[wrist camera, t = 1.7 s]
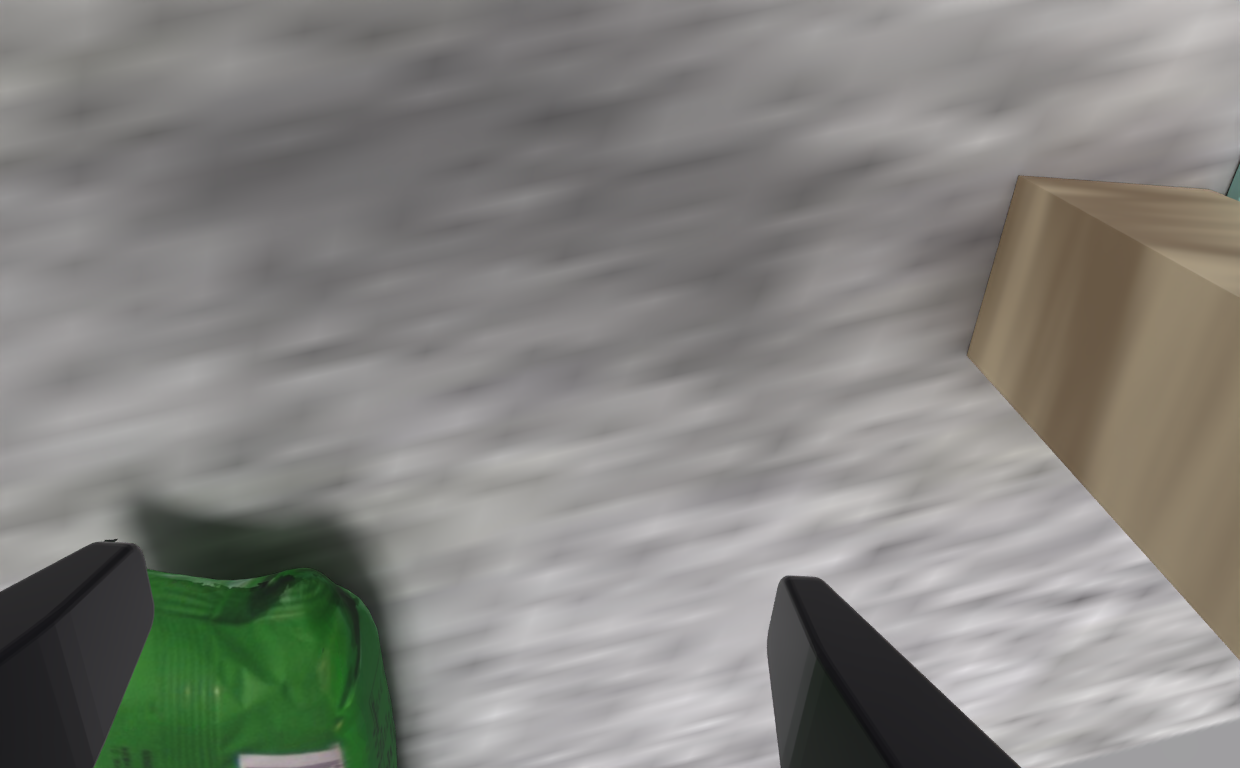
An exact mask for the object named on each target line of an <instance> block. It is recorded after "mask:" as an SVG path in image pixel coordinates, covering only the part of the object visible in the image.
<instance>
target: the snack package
mask: <svg viewBox="0 0 1240 768" xmlns="http://www.w3.org/2000/svg"><path fill="white" fill-rule="evenodd" d="M116 540H117V539H114V540H105V541H104V542H115V541H116ZM147 572H148V577H149V582H150V586H151V591H152V596H153V600H154V620H153V624H152V627H151V630H150V633H149V635H148V638H147V640H146V643H145V645H144V648H143V650H142V652H141V655H140V657H139V660H138V662H137V665H136V667H135V670H134V672H133V675H132V677H131V680H130V682H129V685H128V687H127V689H126V692H125V694H124V697H123V699H122V702H121V704H120V707H119V709H118V712H117V714H116V717H115V719H114V721H113V724H112V726H111V729H110V731H109V734H108V736H107V739H106V741H105V744H104V746H103V748H102V750H101V753H100V755H99V757H98V759H97V762H96V764H95V766H94V768H397V748H396V733H395V725H394V721H393V714H392V704H391V698H390V694H389V690H388V685H387V680H386V675H385V671H384V666H383V660H382V654H381V648H380V642H379V636H378V631H377V628H376V625H375V623H374V621H373V619H372V616H371V614H370V612H369V610H368V608H367V607H366V606H365V605H364V603H363V602H362V600H361V599H360V598H359V597H358V596H356V595H355V594H353V593H352V592H350V591H349V590H347V589H345V588H343V587H340V586H338V585H337V584H335V583H333V582H332V581H331V580H330V579H329V578H327V577H326V576H325V575H323V574H322V573H321V572H319V571H317V570H315V569H312V568H297V569H291V570H286V571H282V572H278V573H274V574H271V575H267V576H263V577H257V578H250V579H241V580H216V579H208V578H200V577H194V576H188V575H181V574H172V573H166V572H160V571H155V570H150V569H147Z"/></svg>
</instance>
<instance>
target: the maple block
mask: <svg viewBox="0 0 1240 768" xmlns="http://www.w3.org/2000/svg"><path fill="white" fill-rule="evenodd" d="M967 356H968V357H969V359H970V360H971V361H972V362H973V363H974V364H975V365H976V366H977V367H978V369H979V370H980V371H981V372H982V373H983V374H984V375H985V376H986V378H987V379H988V380H989V381H990V382H991V383H992V384H993V385H994V386H995V388H996V389H997V390H998V391H999V392H1000V393H1001V394H1002V395H1003V397H1004V398H1005V399H1006V400H1007V401H1008V402H1009V403H1010V404H1011V405H1012V407H1013V408H1014V409H1015V410H1016V411H1017V412H1018V413H1019V414H1020V415H1021V417H1022V418H1023V419H1024V420H1025V421H1026V422H1027V423H1028V424H1029V426H1030V427H1031V428H1032V429H1033V430H1034V431H1035V432H1036V433H1037V434H1038V436H1039V437H1040V438H1041V439H1042V440H1043V441H1044V442H1045V443H1046V445H1047V446H1048V447H1049V448H1050V449H1051V450H1052V451H1053V452H1054V453H1055V455H1056V456H1057V457H1058V458H1059V459H1060V460H1061V461H1062V462H1063V463H1064V465H1065V466H1066V467H1067V468H1068V469H1069V470H1070V471H1071V472H1072V474H1073V475H1074V476H1075V477H1076V478H1077V479H1078V480H1079V481H1080V482H1081V484H1082V485H1083V486H1084V487H1085V488H1086V489H1087V490H1088V491H1089V493H1090V494H1091V495H1092V496H1093V497H1094V498H1095V499H1096V500H1097V501H1098V503H1099V504H1100V505H1101V506H1102V507H1103V508H1104V509H1105V510H1106V511H1107V513H1108V514H1109V515H1110V516H1111V517H1112V518H1113V519H1114V520H1115V522H1116V523H1117V524H1118V525H1119V526H1120V527H1121V528H1122V529H1123V530H1124V532H1125V533H1126V534H1127V535H1128V536H1129V537H1130V538H1131V539H1132V541H1133V542H1134V543H1135V544H1136V545H1137V546H1138V547H1139V548H1140V549H1141V551H1142V552H1143V553H1144V554H1145V555H1146V556H1147V557H1148V558H1149V559H1150V561H1151V562H1152V563H1153V564H1154V565H1155V566H1156V567H1157V568H1158V570H1159V571H1160V572H1161V573H1162V574H1163V575H1164V576H1165V577H1166V578H1167V580H1168V581H1169V582H1170V583H1171V584H1172V585H1173V586H1174V587H1175V589H1176V590H1177V591H1178V592H1179V593H1180V594H1181V595H1182V596H1183V597H1184V599H1185V600H1186V601H1187V602H1188V603H1189V604H1190V605H1191V606H1192V608H1193V609H1194V610H1195V611H1196V612H1197V613H1198V614H1199V615H1200V616H1201V618H1202V619H1203V620H1204V621H1205V622H1206V623H1207V624H1208V625H1209V626H1210V628H1211V629H1212V630H1213V631H1214V632H1215V633H1216V634H1217V635H1218V637H1219V638H1220V639H1221V640H1222V641H1223V642H1224V643H1225V644H1226V645H1227V647H1228V648H1229V649H1230V650H1231V651H1232V652H1233V653H1234V654H1235V656H1236V657H1237V658H1238V659H1239V660H1240V201H1237V200H1235V199H1232V198H1230V197H1227V196H1225V195H1222V194H1220V193H1217V192H1215V191H1212V190H1210V189H1197V188H1183V187H1170V186H1156V185H1143V184H1129V183H1115V182H1102V181H1088V180H1074V179H1061V178H1047V177H1034V176H1020V175H1019V176H1018V180H1017V183H1016V187H1015V190H1014V193H1013V197H1012V200H1011V204H1010V207H1009V211H1008V214H1007V218H1006V221H1005V225H1004V228H1003V232H1002V235H1001V239H1000V242H999V246H998V249H997V253H996V256H995V259H994V263H993V266H992V270H991V273H990V277H989V280H988V284H987V287H986V291H985V294H984V298H983V301H982V305H981V308H980V312H979V315H978V319H977V322H976V325H975V329H974V332H973V336H972V339H971V343H970V346H969V350H968V353H967Z"/></svg>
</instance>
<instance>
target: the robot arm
mask: <svg viewBox="0 0 1240 768" xmlns="http://www.w3.org/2000/svg"><path fill="white" fill-rule="evenodd" d="M153 620H154V600H153V596H152V591H151V586H150V582H149V577H148V572H147V567H146V563H145V558H144V555H143V552H142V550H141V549H140V547H139V546H137V545H135V544H133V543H121V542H95V543H92V544H90V545H88V546H86V547H84V548H82V549H80V550H78V551H76V552H74V553H72V554H71V555H69V556H67V557H65V558H63V559H61V560H59V561H57V562H55V563H54V564H52V565H50V566H48V567H46V568H44V569H42V570H40V571H39V572H37V573H35V574H33V575H31V576H29V577H27V578H25V579H23V580H22V581H20V582H18V583H16V584H14V585H12V586H10V587H8V588H6V589H5V590H3V591H1V592H0V768H94V766H95V764H96V762H97V759H98V757H99V755H100V753H101V750H102V748H103V746H104V744H105V741H106V739H107V736H108V734H109V731H110V729H111V726H112V724H113V721H114V719H115V717H116V714H117V712H118V709H119V707H120V704H121V702H122V699H123V697H124V694H125V692H126V689H127V687H128V685H129V682H130V680H131V677H132V675H133V672H134V670H135V667H136V665H137V662H138V660H139V657H140V655H141V652H142V650H143V648H144V645H145V643H146V640H147V638H148V635H149V633H150V630H151V627H152V624H153ZM767 656H768V665H769V673H770V681H771V690H772V698H773V707H774V715H775V723H776V732H777V740H778V748H779V757H780V765H781V768H1021V767H1020V766H1019V765H1018V764H1017V763H1016V762H1015V761H1014V760H1013V759H1012V758H1011V757H1009V756H1008V755H1007V754H1006V753H1005V752H1004V751H1003V750H1002V749H1001V748H1000V747H999V746H998V745H997V744H996V743H995V742H994V741H993V740H992V739H990V738H989V737H988V736H987V735H986V734H985V733H984V732H983V731H982V730H981V729H980V728H979V727H978V726H977V725H976V724H975V723H974V722H972V721H971V720H970V719H969V718H968V717H967V716H966V715H965V714H964V713H963V712H962V711H961V710H960V709H959V708H958V707H957V706H956V705H954V704H953V703H952V702H951V701H950V700H949V699H948V698H947V697H946V696H945V695H944V694H943V693H942V692H941V691H940V690H939V689H938V688H936V687H935V686H934V685H933V684H932V683H931V682H930V681H929V680H928V679H927V678H926V677H925V676H924V675H923V674H922V673H921V672H920V671H919V670H917V669H916V668H915V667H914V666H913V665H912V664H911V663H910V662H909V661H908V660H907V659H906V658H905V657H904V656H903V655H902V654H901V653H899V652H898V651H897V650H896V649H895V648H894V647H893V646H892V645H891V644H890V643H889V642H888V641H887V640H886V639H885V638H884V637H883V636H881V635H880V634H879V633H878V632H877V631H876V630H875V629H874V628H873V627H872V626H871V625H870V624H869V623H868V622H867V621H866V620H865V619H863V618H862V617H861V616H860V615H859V614H858V613H857V612H856V611H855V610H854V609H853V608H852V607H851V606H850V605H849V604H848V603H847V602H846V601H844V600H843V599H842V598H841V597H840V596H839V595H838V594H837V593H836V592H835V591H834V590H833V589H832V588H831V587H830V586H829V585H828V584H826V583H825V582H824V581H823V580H822V579H820V578H817V577H808V576H785V577H783V578H782V579H781V580H780V582H779V584H778V588H777V593H776V597H775V602H774V607H773V611H772V616H771V621H770V626H769V630H768V637H767Z"/></svg>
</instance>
